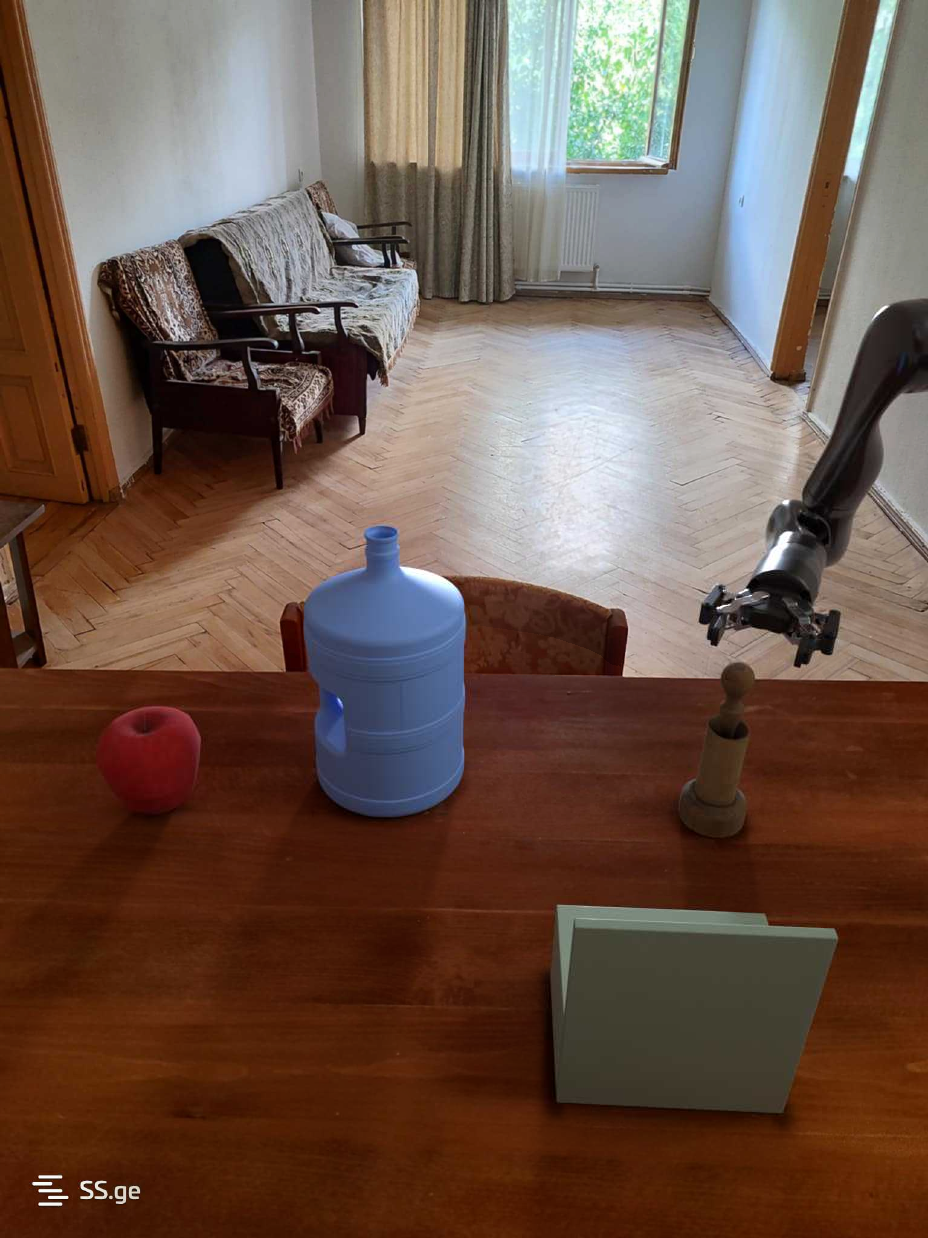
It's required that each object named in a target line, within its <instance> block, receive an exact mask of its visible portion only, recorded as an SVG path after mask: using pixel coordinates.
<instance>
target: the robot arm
mask: <svg viewBox="0 0 928 1238" xmlns="http://www.w3.org/2000/svg"><path fill="white" fill-rule="evenodd" d="M852 364H853V365H852V367H851V371H850V374H849V377H848V380H847V382H846V385H845V388H844V392H843V395H842V398H841V401H840V405H839V407H838V412H837V415H836V417H835V421H834V423H833V426H832V428H831V432H830V434H829V437H828V439H827V441H826V443H825V445H824V447H823V449H822V451H821V453H820V454H819V456H818V458H817V459H816V462H815V463H814V465H813V467H812V469H811V470H810V472H809V474H808V476H807V477H806V479H805V482H804V483H803V485H802V488H801V491H800V498H801V500H800V499H796V498H795V499H787V500H786V499H785V500H783V501H782V502H780V503H779V504H777V505H776V506H775V508H773V509H772V511H771V513H770V514H769V516H768V519H767V521H766V525H765V529H764V544H765V549H766V553H765V554H764V556H763V557H762V558H761V559H760V561H759V562H758V563H757V565H756V567H755V569H754V571H753V573H752V575H751V577H750V578H749V581H748V583H747V584H746V586H745V588H744V590H743V591H739V592H738V593H737V594H736V593H733V592H728V591H726V585H725V584H723V583H716V584H714V586H713V587H712V588H711V589H710V590H709V592H708V593H707V595H706V596H705V597H704V598H703V599H702V601H701V605H700V609H699V615H698V623H699V624H700V625H704V626H707V625H708V626H707V631H706V637H705V638H706V640H707V641H710V642H709V643H710V644H709V645H710V646H712V647H715V648H717V647H718V646H719V644H720V642H721V640H722V638H723V636H724V634H725V632H726V631H729V630H734V631H735V632H739V631H742V630H746V629H750V628H751V629H752V628H753V629H758V630H763V631H768V632H770V633H774V634H776V635H777V634H778V635H782V636H783V637H784V638H785V639H786V640H787V641H788V642H789V643H790V644H791V645H792V646H797V650H796V653H795V657H794V661H793V665H792V666H793V667H794V668H798V669H801V668H802V665H804V666H807V665H809V664H810V662H811V659H812V657H813V654H814V652H816V651H820V653H821V654H822V655H824V656H832V655H833V654H834V650H835V644H836V641H837V638H838V635H839V629H840V622H841V617H842V613H841V611H840V610H837V609H830V610H829V611H828V614H827V613H820V612H816V611H815V609H814V608H813V607H814V605H815V601H816V600H817V598H818V596H819V595H820V592H819V590H820V588H821V584H822V576H823V573H824V570H825V569H828V568H830V567H833V566H835V565H836V564H838V563H839V562H840V561H841V560H842V559H843V557H844V556H845V555H846V552H847V551H848V547H849V544H850V542H851V541H850V540H851V537H852V532H853V531H852V530H853V525H854V524H853V523H854V519H855V516H856V514H857V511H858V509H859V507H860V505H861V504H862V502H863V501H864V499H865V498H866V496H867V495H868V494H869V492H870V490H871V489H872V487H873V486H874V484H875V483H876V481H877V480H878V477H879V475H880V473H881V470H882V468H883V464H884V456H885V452H884V451H885V449H884V443H883V438H882V434H881V429H880V423H881V419H882V418H883V415H884V414H885V413H886V412H887V410H888V409H889V407H890V406H891V405H892V403H894V402H895V400H896V399H897V398H898V397H900V396H901V395H911V394H918V393H919V394H920V393H928V297H923V298H911V299H903V300H898V301H895V302H891V303H889V304H886V305H885V306H883V307H882V308H881V309H880V310H879V311H878V312H877V313H876V314H875V315H874V317H873V318H872V320H871V321H870V323H869V325H868V326H867V328H866V330H865V332H864V335H863V337H862V338H861V342H860V344H859V346H858V350H857V352H856V356H855V358H854V361H853V363H852ZM813 624H814V625H815V626H816V627H815V626H814V625H813Z"/></svg>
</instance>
